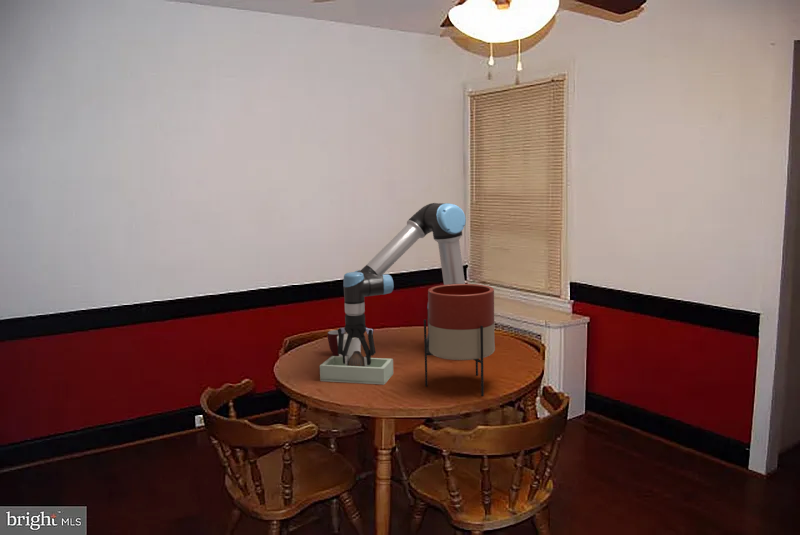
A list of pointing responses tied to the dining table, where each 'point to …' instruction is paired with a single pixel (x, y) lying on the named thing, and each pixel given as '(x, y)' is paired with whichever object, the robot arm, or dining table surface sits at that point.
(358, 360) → the vase
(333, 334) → the mug
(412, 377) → the dining table surface
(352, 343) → the candle holder
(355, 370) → the green rectangular tray
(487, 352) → the planter
